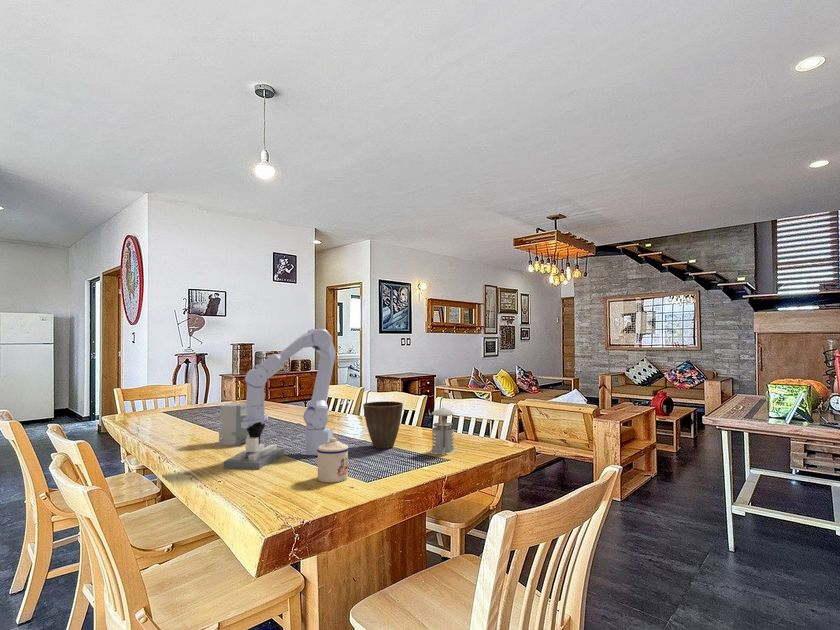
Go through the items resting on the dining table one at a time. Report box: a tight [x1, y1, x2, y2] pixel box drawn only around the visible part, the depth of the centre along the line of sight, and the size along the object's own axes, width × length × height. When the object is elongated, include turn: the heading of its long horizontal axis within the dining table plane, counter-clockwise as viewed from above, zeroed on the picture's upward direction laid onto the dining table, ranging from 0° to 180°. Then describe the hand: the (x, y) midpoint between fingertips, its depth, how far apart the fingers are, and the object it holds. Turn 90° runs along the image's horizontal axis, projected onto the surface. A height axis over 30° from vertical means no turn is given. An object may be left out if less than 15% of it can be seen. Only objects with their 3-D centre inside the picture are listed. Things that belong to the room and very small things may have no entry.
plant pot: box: [362, 400, 404, 449], centre depth 175 cm, size 15×15×16 cm
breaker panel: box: [223, 443, 288, 470], centre depth 156 cm, size 20×12×4 cm, turn 172°
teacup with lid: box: [317, 436, 350, 484], centre depth 137 cm, size 12×9×12 cm
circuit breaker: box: [218, 402, 250, 446], centre depth 182 cm, size 8×14×15 cm, turn 89°
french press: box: [430, 381, 457, 455], centre depth 166 cm, size 10×12×25 cm
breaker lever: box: [245, 436, 259, 457], centre depth 153 cm, size 3×3×6 cm
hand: (255, 446), depth 155 cm, fingers closed
